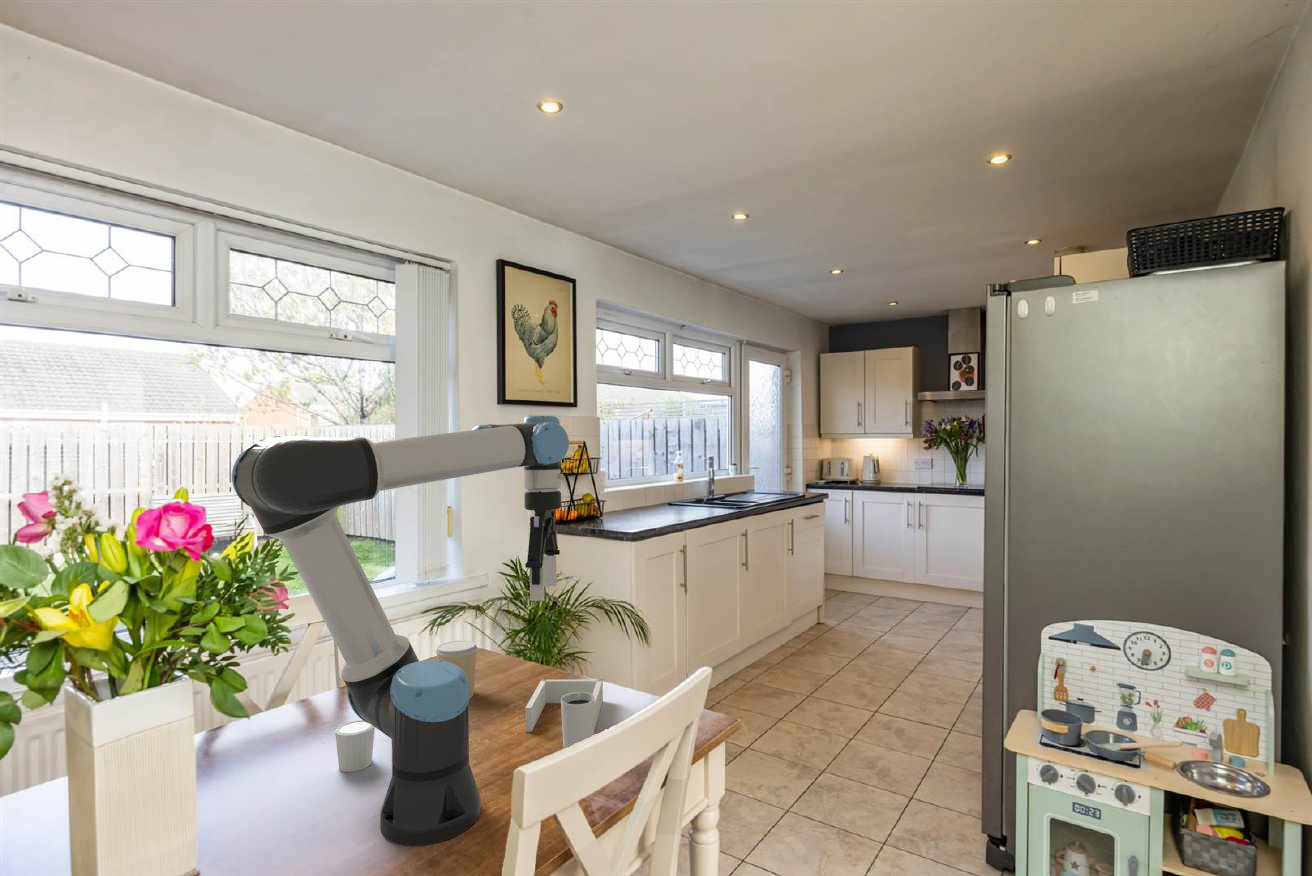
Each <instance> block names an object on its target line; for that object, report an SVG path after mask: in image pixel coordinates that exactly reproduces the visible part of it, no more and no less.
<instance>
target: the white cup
mask: <svg viewBox="0 0 1312 876" xmlns="http://www.w3.org/2000/svg"><path fill="white" fill-rule="evenodd" d="M560 707H561V709H560V711H561V726H562V727H561V728H562V729H561V730H562V744H563V747H562V748H564V747H569V746H571V745H572V744H574V743H576V742H579V741H582V740H584V739H585V738H589V737H591V736H592V735H594V733H595V731H594V708H595V696H594V695H593V694H590V693H586V692H574V693H569V694H566V695H564V696H563V697H562V698H561V703H560Z"/></svg>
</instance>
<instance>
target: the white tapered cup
mask: <svg viewBox="0 0 1312 876" xmlns="http://www.w3.org/2000/svg"><path fill="white" fill-rule="evenodd" d="M375 730H376V727H374V726H373V725H371V724H369V723H367V722H365V721H363V720H362V719H360V720H353V721H349V722H346V723H343V724H341V725H339V726H337V727H336V729H335V730H334V734H335V735H334V736H335V743H336V744H335V745H336V751H337V760H338V770H340V771H341V772H346V773H352V772H357V771H362V770H364V769H366V768H368V767H369V766H371V764H372V761H373V751H374V739H375Z"/></svg>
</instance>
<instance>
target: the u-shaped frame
mask: <svg viewBox="0 0 1312 876" xmlns="http://www.w3.org/2000/svg"><path fill="white" fill-rule="evenodd" d="M574 692H586V693H590V694H593V695H594V696H595V708H594V732H595V730H596V726H597V725H598V724H597V723H598V720H599V716H600V713H601V708H602V705H603V701H604V697H603V696H604V695H603V694H604V691H603V679H540V681H539V683H538V685H537V686H536V688H535V691H534V692H533V693H532V696H531V697H530V699H529V701H528V702H527V704H526V706H525V710H524V711H525V733H532V732H533V730H534V727H535V726H536V724H537V722H538V719H539V718H540V716H541V714H542V712H543V711H544V708H545V706H546V704H561V698H562V697H563V696H564V695H566V694H569V693H574Z"/></svg>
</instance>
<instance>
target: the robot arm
mask: <svg viewBox="0 0 1312 876" xmlns="http://www.w3.org/2000/svg"><path fill="white" fill-rule="evenodd" d="M569 440H570V439H569V436H568V433H567V430H566V429H565V428H564V427H563V426H562V425H561V423H560V419H559V417H557V416H555V415H527V416H525V417H524V418H523V423H510V424H491V423H487V424H478V425H475V426H474V427H473V428H472V429H471V430H464V431H455V432H447V433H439V434H438V433H437V434H429V435H422V436H413V437H403V438H396V439H388V440H377V441H371V440H370V439H369V438H367V437H366V436H356V437H345V438H344V437H343V438H340V437H339V438H338V437H333V438H332V437H315V436H314V437H313V436H303V435H296V436H295V435H293V436H279V435H278V436H271V437H267V438H265V439H264V438H263V439H260V440H258V441H256V442H254V443H251V445H249V446H247V447H246V448H245V449H244V450H242V451H241V453H240V454H239V455H238V456H237V458H236V460H235V462H234V464H233V467H232V471H231V483H232V487H233V490H234V492H235V494H236V495H237V498H239V499H240V500H241V501H242V502H243V504H245V505H247V507H249V508H251V510H252V512H253V514H254V515H255V518H256V519H257V521H258V523H259V525H260V526H261V529H262V530H263V532H264V534H265V536H267V537H271V538H274V539H277V540H278V539H279V540H280V541H281V543H282V544H283V546H284V548H285V550H286V552H287V554H288V556H289V558H290V560H291V562H292V563H293V565H294V567H295V569H296V571H297V573H298V575H299V576H300V578H301V581H302V582H303V584H304V586H305V588H306V590H307V591H308V594H309V595H310V597H311V599H312V601H313V603H314V606H315V607H316V609H317V610H318V612H319V614H320V616H321V617H322V620H323V621H324V624H325V625H326V628H327V630H328V632H329V633H330V635H331V638H332V639H333V641H334V642H335V644H336V646H337V648H338V650H339V652H340V654H341V656H342V658H343V659H344V662H345V663H344V665H343V668H342V670H341V673H340V674H341V675H340V676H341V678H342V680H343V682H344V684H345V686H346V696H347V700H348V703H349V705H350V707H351V709H352V711H353V712H354V714H355V715H356V716H357V717H358V718H359V719H360V720H363V721H365V722H367V723H369V724H371V725H373V726H374V727H375V729H377V730H378V731H380V732H381V733H382V734H384V735H385V736H387V737H388V738H389V739H390V740H391V766H392V767H391V768H392V769H391V771H392V772H391V778H390V781H389V784H388V788H387V791H386V795H385V797H384V800H383V803H382V807H381V810H380V815H379V816H380V817H379V818H380V820H379V821H380V827H379V829H380V832H381V835H382V836H383V837H384V838H385V839H386V840H388V841H389V842H392V843H394V844H398V845H403V846H425V845H426V846H427V845H431V844H435V843H436V844H437V843H441V842H444V841H446V840H449V839H452V838H454V837H457V836H459V835H460V834H463V833H464V832H465V831H467V830H468V829H469V828H471V827H472V826H473V825H474V824H475V823H476V822H477V821H478V819H479V817H480V815H481V810H482V807H481V805H482V804H481V793H480V790H479V788H478V785H477V783H476V779H475V777H474V774H473V771H472V768H471V765H470V751H469V750H470V733H469V732H470V729H469V727H470V724H469V721H470V717H469V716H470V713H469V712H470V710H469V709H470V707H469V706H470V705H469V704H470V703H469V702H470V699H471V698H470V694H469V688H468V680H467V676H466V674H465V672H464V671H463V669H461V668H460V667H459V666H457V665H455V664H453V663H450V662H446V661H443V662H439V661H438V660H437V659H436V660H433V659H429V660H428V659H427V660H419V658H418V655H417V654H416V652H415V650H414V648H413V645H412V644H411V642H410V639H409V637H407V636H404V635H400V634H395V631H394V628H393V627H392V625H391V622H390V621H389V619H388V617H387V614H386V613H385V611H384V609H383V607H382V605H381V603H380V600H379V599H378V597H377V595H376V593H375V591H374V589H373V586H372V585H371V582H370V581H369V578H368V577H367V575H366V572H365V571H364V568H363V567H362V565H361V563H360V561H359V559H358V557H357V554H356V553H355V551H354V548H353V546H352V544H351V542H350V541H349V539H348V537H347V535H346V532H345V531H344V528H343V526H342V524H341V522H340V520H339V518H338V516H337V512H338V510H339V508H340V507H342V506H346V505H350V504H354V503H358V502H364V501H369V500H373V499H375V498H376V497H377V495H378V494H379V493H380V492H381V491H387V490H394V489H399V488H404V487H405V488H406V487H411V486H416V485H422V484H423V485H424V484H428V483H432V482H440V481H445V480H446V481H447V480H450V479H458V478H463V477H467V476H474V475H479V474H485V473H490V472H496V471H501V470H508V469H512V468H513V469H514V468H520V467H521V468H522V467H524V468H523V469H524V470H523V488H524V489H525V490H526V491H525V493H524V499H523V500H524V508H525V509H526V510H527V511H534V516H530V518H529V524H530V525H529V527H530V528H529V538H528V539H529V540H528V550H527V560H526V562H525V565H524V566H525V569H529V602H530V601H532V602H544V601H545V587H557V585H558V584H557V555H560V554H561V553H560V552H561V550H560V549H559V546H558V537H557V528H556V517H555V516H556V511H555V510H559V509H561V507H562V492H561V491H560V490H559V489H561V487H562V486H561V484H562V482H561V481H562V480H561V479H563V478H564V476H565V475H564V474H563V473H561V472H562V471H561V462H562V460H563V459H564V458H565V456H567V453H568V451H569V447H570V443H569V442H570V441H569ZM469 698H470V699H469Z"/></svg>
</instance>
